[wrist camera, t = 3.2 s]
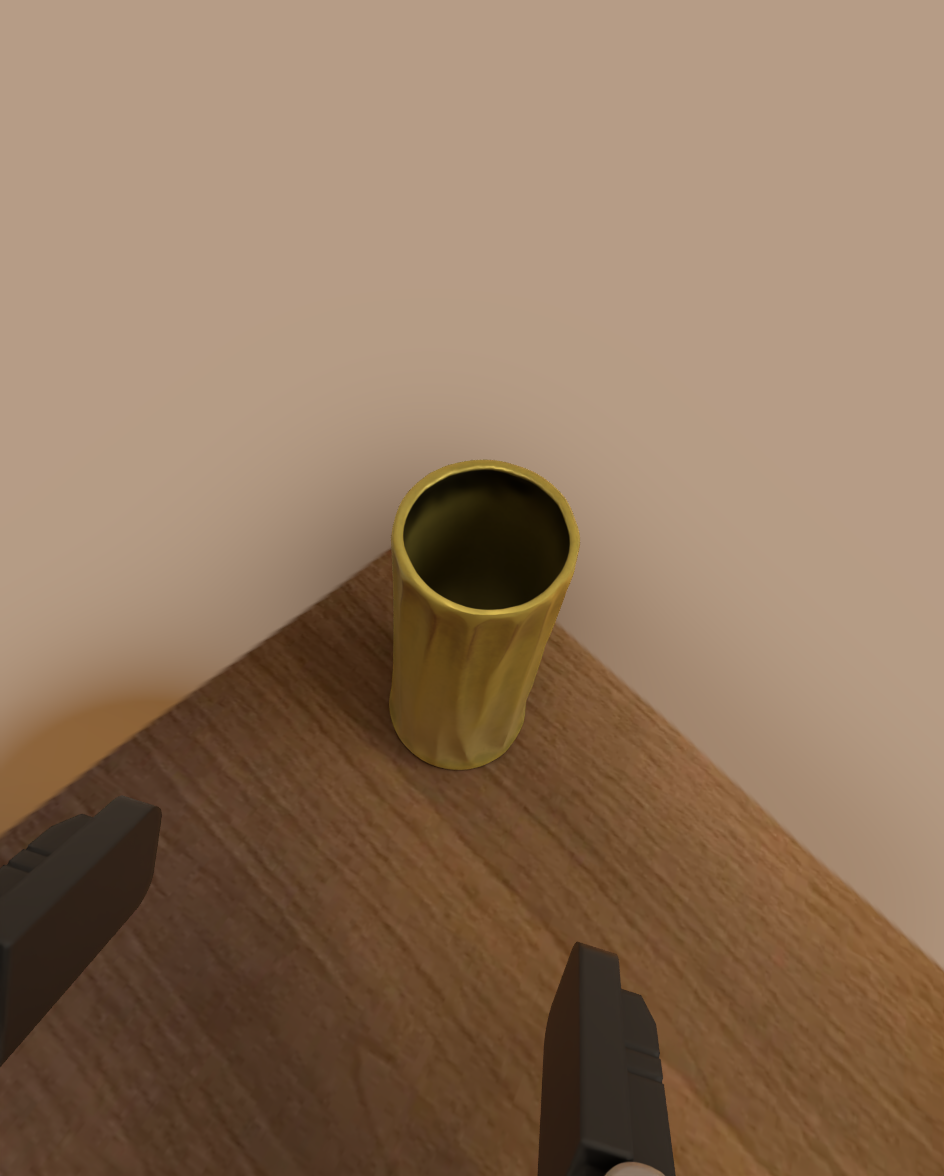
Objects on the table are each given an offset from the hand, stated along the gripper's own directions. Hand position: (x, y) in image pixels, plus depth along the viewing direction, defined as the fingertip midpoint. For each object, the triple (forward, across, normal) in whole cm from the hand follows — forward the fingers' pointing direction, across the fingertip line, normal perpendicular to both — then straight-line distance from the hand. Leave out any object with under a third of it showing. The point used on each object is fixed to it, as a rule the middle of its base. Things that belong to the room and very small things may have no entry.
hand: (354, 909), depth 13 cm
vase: (+19, 0, +4) cm, 19 cm away
